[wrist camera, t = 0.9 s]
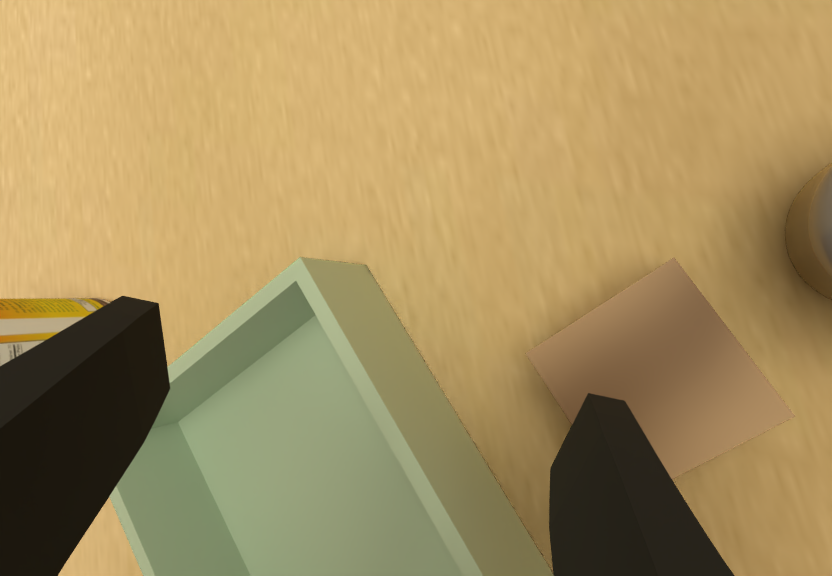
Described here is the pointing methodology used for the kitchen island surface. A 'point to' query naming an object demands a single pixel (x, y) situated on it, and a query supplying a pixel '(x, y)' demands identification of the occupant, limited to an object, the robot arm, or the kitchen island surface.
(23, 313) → the supplement bottle
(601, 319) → the cube
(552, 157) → the kitchen island surface
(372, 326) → the tote
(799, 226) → the cylinder
